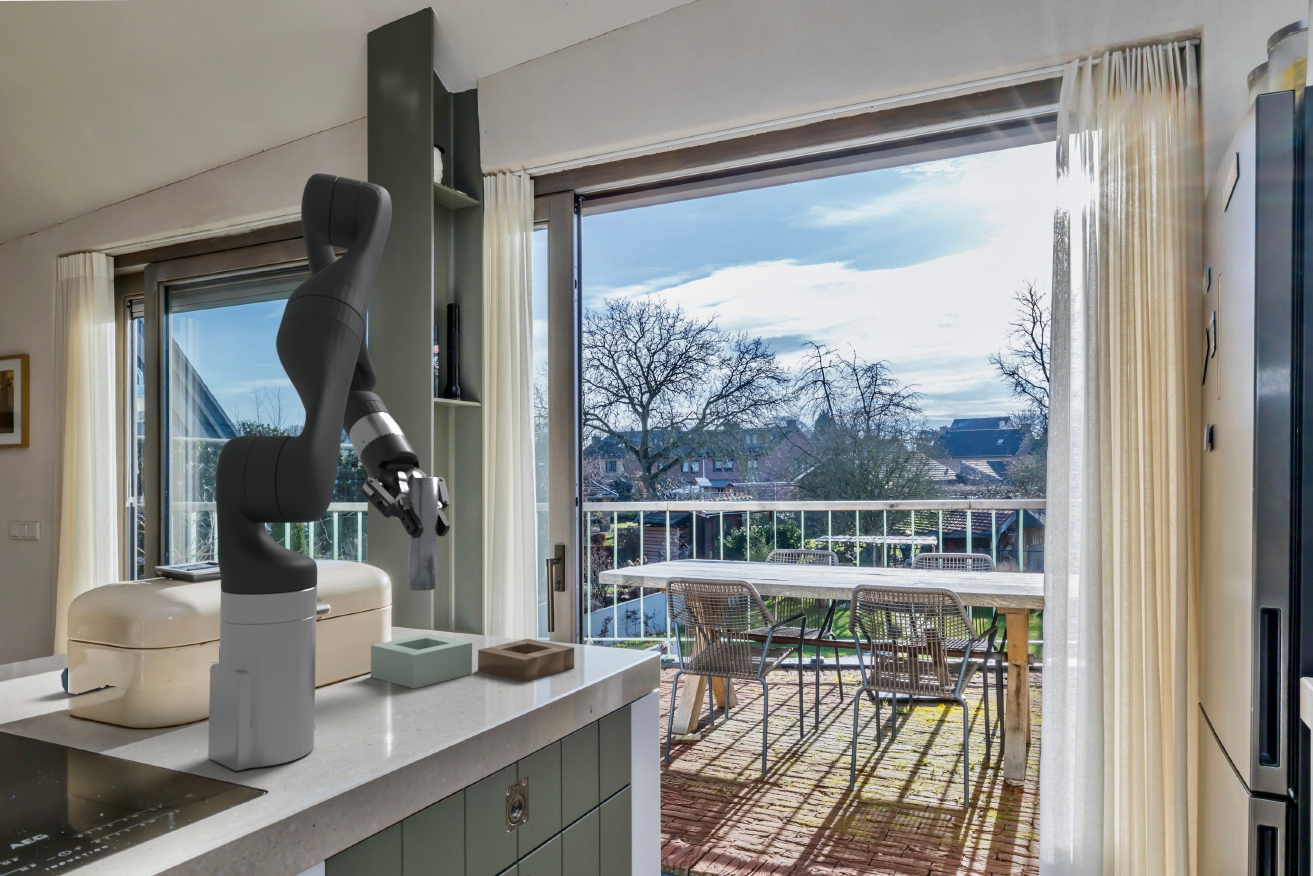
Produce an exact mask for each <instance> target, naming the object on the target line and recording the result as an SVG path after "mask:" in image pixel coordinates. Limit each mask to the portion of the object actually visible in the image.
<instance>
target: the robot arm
mask: <svg viewBox="0 0 1313 876" xmlns="http://www.w3.org/2000/svg"><path fill="white" fill-rule="evenodd" d="M387 190H388V189H385V187H383V186H381V185H379V184H376V183H372V182H370V181H363V180H358V179H352V178H348V177H345V176H339V175H334V174H329V173H313V174H311V176H310V177H309V178H308V180H307V181H306V183H305V186H304V189H303V193H302V198H301V205H300V206H301V208H300V209H301V210H300V215H301V216H300V217H301V218H300V219H301V220H300V221H301V229H302V236H303V241H304V246H305V250H306V252H305V253H306V257H307V262H308V268H309V271H310V277H309V278H308V279H306V280H305V281H303V282H302V283H301V284H300V285H298V287H296V289H294V291H293V292H292V293H291V294H290V296H289V298H288V300H287V302H286V304H285V307H284V311H283V313H282V314H283V315H282V317H281V321H280V324H279V327H278V331H277V335H276V339H275V340H276V341H275V347H276V351H277V352H276V353H277V356H278V359H279V362H280V364H281V367H282V368H283V370H284V372H285V374H286V375H287V378H289V380H290V382H291V384H292V386H293V387H294V389H295V390H296V392H297V394H298V396H299V398H300V401H301V404H302V406H303V408H304V411H305V420H304V427H303V430H302V431H301V433H300V434H299V435H289V436H288V435H242V436H241V435H240V436H234V437H231V438H230V439H229V440H227V441H226V443H225V444H224V445H223V447H222V449H221V452H220V454H219V456H218V460H217V465H216V473H215V500H216V501H215V506H216V526H217V527H216V529H217V530H216V531H217V533H216V534H217V563H218V568H219V569H218V570H219V573H220V608H219V609H220V610H219V611H220V612H219V613H220V615H219V619H220V646H219V661H218V662H216V663H214V664H211V666H210V668H209V702H208V703H209V706H208V707H209V708H208V709H209V710H208V746H207V747H208V749H207V751H208V753H207V757H208V759H210V760H212V761H214V762H216V763H217V764H219V765H220V764H221V765H223V766H225V767H227V768H229V769H232V770H233V771H235V772H236V771H237V772H238V771H242V770H246V769H250V768H251V769H252V768H263V767H271V766H276V765H280V764H284V763H288V762H292V761H295V760H297V759H300V758H302V757H304V756H306V755H308V754H309V753H311V752H312V751H313V749H314V748H315V744H314V743H315V731H316V725H315V717H316V716H315V713H316V712H315V710H316V709H315V707H316V706H315V705H316V668H317V667H316V665H317V664H316V662H317V661H316V659H317V658H316V654H317V653H316V652H317V651H316V650H317V612H318V611H317V610H318V609H317V607H318V606H317V604H318V603H317V602H318V566H317V562H316V561H315V560H314V559H313V558H312V557H310V556H309V555H305V554H302V553H299V552H296V551H294V550H291V549H288V548H286V547H285V546H282V545H281V544H280V543H278V542H277V541H276V540H274V539H273V538H272V537H270V535H269V534H268V531H267V528H266V524H300V523H301V524H306V523H314V522H317V521H319V520H321V519H322V518H323V517H324V516H325V514H326V512H327V511H328V509H329V507H330V505H331V502H332V499H333V496H334V492H335V485H336V481H337V474H338V468H339V467H338V466H339V461H340V460H339V459H340V450H341V444H342V443H341V442H342V435H343V429H344V430H345V433H346V434H347V436H348V437H349V439H350V441H351V445H352V449H353V450H354V451H355V454H356V456H357V457H358V459H359V461H360V463H361V465H362V467H363V468H364V470H365V471H366V474H367V476H368V477H367V479H366V481H365V483H364V484H363V485H362V487H361V488H360V493H361V494H362V495H363V496H364V497H365V498H366V499H367V500H368V501H369V503H371V504H372V506H373V507H374V508H376V509H377V510H378V511H379V512H380V514H381V515H383V516H384V517H385V518H387V519H388V518H391V517H395V518H396V520H398V521H399V522H401V524H402V526H403V528H404V529H405V531H406V533H407V535H408V536H409V535H411V537H412V538H413V539H415V538H419V537H420V535H421V534H422V532H423V530H424V529H423V526H422V524H421V522H420V521H419V519H418V517H417V516H416V514H415V512H414V511H413V510H410V508H411V506H410V502H409V501H410V477H428V475H427V474H426V473H425V472H423V471H422V469H421V468H420V462H419V461H420V460H419V457H418V455H417V453H416V451H415V450H414V448H413V446H412V445H411V443H410V442H409V440H408V438H407V437H406V435H405V433H404V431H403V430H402V428H401V426H400V425H399V424H398V423H397V422H396V420H394V418H393V416H392V415H391V414H390V411H389V410H388V408H387V407H386V405H385V403H384V402H383V400H382V399H381V397H380V396H379V395H378V394H376V393H374V392H372V391H373V390H374V388H375V387H376V385H377V380H378V377H377V372H376V368H375V366H374V363H373V360H372V359H371V356H370V351H369V349H368V348H369V347H368V342H367V330H368V329H367V326H368V322H367V321H368V310H369V305H370V299H371V294H372V289H373V285H374V280H375V277H376V274H377V271H378V267H379V265H380V260H381V258H382V255H383V252H384V249H385V246H386V243H387V239H388V235H389V231H390V228H391V223H392V219H393V218H392V213H393V203H392V199H391V195H390V193H389V191H387ZM333 247H336V248H341V249H342V248H343V249H347V251H346V252H344V254H343V255H342V256H341V257H340V258H337V257H336V255H335V252H334V249H333ZM437 477H438V478H439V482H438V537H446V535H447V533H448V532H449V531H450V527H451V524H450V522H449V519H448V518H447V516H446V515H445V511H446V510H447V508H448V507H449V506H450V503H451V500H450V497H449V492H448V491H449V490H448V489H447V484H446V479H445V478H444V477H443V476H437ZM384 502H385V503H386V504H387V505H385V503H384Z"/></svg>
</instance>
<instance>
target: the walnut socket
mask: <svg viewBox="0 0 1313 876" xmlns="http://www.w3.org/2000/svg"><path fill="white" fill-rule="evenodd" d="M574 668H575V647H574V646H568V645H564V644H558V643H551V642H547V641H541V640H536V639H533V638H526V639H525V638H524V639H521V640H515V641H511V642H507V643H503V644H498V645H494V646H490V647H484V648H481V649H478V650H477V671H479V672H480V671H481V672H484V673H489V674H492V675H496V676H500V677H505V678H509V679H514V680H519V681H523V682H527V681H531V680H535V679H539V678H543V677H545V676H550V675H552V674H556V673H557V674H558V673H560V672H564V671H567V670H572V669H574Z"/></svg>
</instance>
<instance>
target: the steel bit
mask: <svg viewBox="0 0 1313 876" xmlns="http://www.w3.org/2000/svg"><path fill="white" fill-rule="evenodd" d="M438 477H439V476H437V477H436V476H432V477H431V476H429V477H428V476H427V477H410V501H409V502H410V506H411V508H410V510H413V511H414V512H415V514H416V516H417V517H418V519H419V521H420V522H421V524H422V526H423V529H424V530H423V532H422V534H421V535H420V537H419V538H415V539H413V538H412V537H411V535H409V534H408V562H407V563H408V566H407V567H408V569H407V570H408V571H407V572H408V573H407V589H408V590H409V591H418V592H419V591H431V590H436V589H437V588H438V585H437V584H438V541H439V540H438V538H439V536H438V482H439V478H438Z"/></svg>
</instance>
